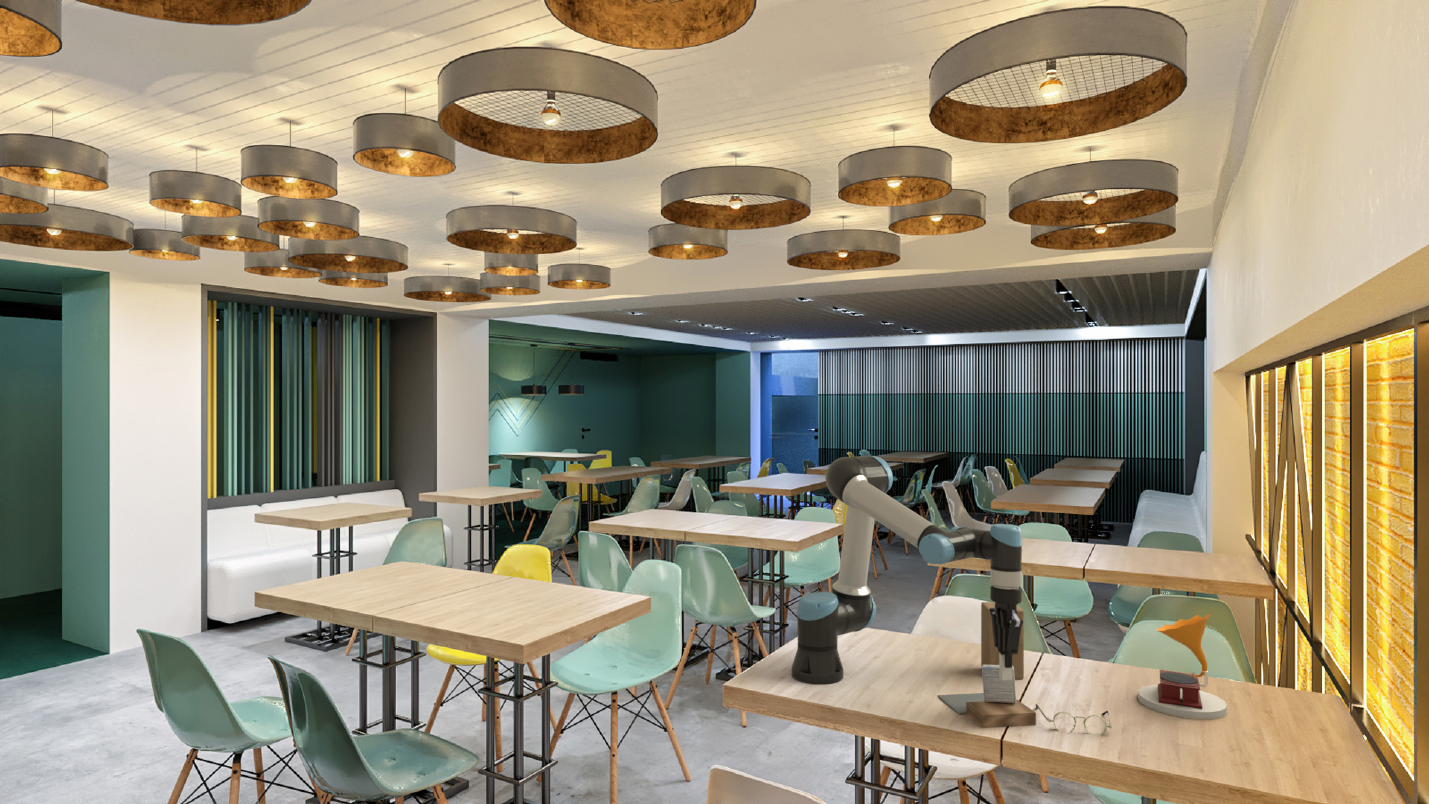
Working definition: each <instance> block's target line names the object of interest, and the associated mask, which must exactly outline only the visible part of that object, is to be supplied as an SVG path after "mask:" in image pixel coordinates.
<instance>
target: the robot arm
mask: <svg viewBox="0 0 1429 804" xmlns="http://www.w3.org/2000/svg"><path fill="white" fill-rule="evenodd" d="M892 471H893V470H892V469H891V467H890V466H889V465H888V462H886V460H885V459H883V458H882V457H880V456H877V455H876V456H875V455H860V456H859V455H857V456H844V457H842V456H841V457H839V458H837V459H835V460H833V462H831V463H830V465H828V468H827V469H826V472H825V484H826V487H827V489H828V490H829V492H830V493H831V494H832V496H834V497H835V498H836V499H837V500H839V501H840V502H842V503H843V504H845V505H846V513H845V521H844V522H845V523H844V530H843V531H844V532H843V536H842V537H843V540H842V546H841V547H842V548H841V553H840V554H841V556H840V562H839V563H840V564H839V572H838V578H837V580H836V581H835V582H833V583H832V587H831V592H829V591H818V592H813V591H812V592H809V593H806V594H803V596H801V597H800V598H799V599H798V602H797V611H796V615H797V617H796V618H797V620H796V621H797V647H796V648H797V649H796V652H795V656H794V658H793V660H792V661H793V662H792V665H791V676H792V677H793V678H794V680H797V681H801V682H804V683H808V684H816V685H817V684H818V685H819V684H821V685H822V684H823V685H825V684H826V685H827V684H834V683H837V682H839V681H842V680H843V679H844V667H843V662H842V661H841V657H840V653H839V650H838V638H839V637H838V636H842V635H846V634H847V635H848V634H849V633H856V632H860V631H862V630H863V629H867V628H868V627H870V626H871V624H872V623H873V622H874V621H875V617H876V614H877V605H876V602H875V601H874V597H873V595H871V593H872V591H871V589H870V587H868V585H867V583H868V575H869V567H870V560H871V553H872V551H871V550H872V544H873V536H874V528H875V521H876V522H878V523H879V524H880V525H882V526H884V527H885V528H887V529H889V530H890V531H891V532H893V533H894V534H896V535H897V536H899V537H900V538H902V539H904V541H906V542H908V543H909V544H911V545H912V546H913V547H914V548H917V549H918V551H919V555H920V556H921V558H922V560H923V561H924V562H926V563H928V564H930V565H944V564H947V563H952V562H956V561H961V560H967V559H980V560H985V561H990V562H989V563H990V564H989V565H990V568H989V569H990V571H989V576H990V577H989V583H990V584H991V585H990V595H989V596H990V601H992V602H995V607H994V608H990V614H991V618H992V627H993V636H994V645H995V647H997V648H998V651H999V652H1000V653H999V678H1000V679H1001V680H1012V655H1013V654H1018V647H1019V640H1020V632H1021V627H1022V624H1023V620H1022V619H1019V618H1018V616H1017V613H1018V612H1017V607H1016V605H1017V606H1018V604H1021V603H1022V601H1023V600H1022V599H1023V597H1022V594H1023V593H1022V588H1021V587H1022V582H1023V580H1022V577H1023V572H1022V570H1023V569H1022V562H1023V561H1022V558H1023V557H1022V555H1023V554H1022V552H1023V551H1022V550H1023V539H1022V529H1021V528H1020V526H1018V525H1016V524H1007V523H1006V524H1005V523H996V524H992V525H991V526H990V529H989V530H985V529H977V528H970V527H967V526H954V527H952V528H951V529H950V530H949V531H945V530H943V529H942V528H940V527H938V526H937V525H936V524H934V523H932V522H931V521H929V520H927V519H926V518H925V517H923V516H921V515H919V514H918V513H917V512H915V511H913V510H912V509H910V508H909V507H907V506H906V505H904V504H903V503H901V502H899V501H898V500H896V499H895V498H893V497H891V495H888V494H887V492H888V491H889V490H890V489H891V488H892V485H893V481H894V479H893V477H894V476H893V475H894V474H893V472H892Z"/></svg>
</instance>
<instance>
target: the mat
mask: <svg viewBox="0 0 1429 804" xmlns="http://www.w3.org/2000/svg"><path fill="white" fill-rule="evenodd" d="M937 697H938V698H939V699H940V700H941V699H942V700H941V701H942V702H943V703H944V704H946V705H947V706H948V707H949V708H950V709H952V710H953V711H954V712H955V713H956V714H957V715H967V714H966V702H982V701H984V692H977V693H976V692H974V693H972V692H971V693H955V694H952V693H951V694H937Z"/></svg>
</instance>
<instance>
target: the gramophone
mask: <svg viewBox="0 0 1429 804" xmlns="http://www.w3.org/2000/svg"><path fill="white" fill-rule="evenodd" d="M1211 615H1212V613H1211V614H1210V613H1207V615H1206V616H1205V617H1203V616H1200V615H1198V614H1196V615H1195V616H1193V617H1191V618H1190V619H1181V618H1180V619H1178V621H1175V623H1173V624H1164V625H1163V626H1162V627H1159V628H1155V630H1157V633H1160V634H1164V635H1165V636H1167V637H1168V638H1170V639H1172V640H1174V641H1175V642H1177V643H1180V644H1182V645H1183V646H1185V647H1187V649H1189V650H1190V651H1191V652H1192V653H1193V655H1194V656H1195V657H1196V659H1197V660H1198V662H1199V663H1200V665H1201V669H1200V673H1199V674H1195V672H1192V673H1186V672H1180V671H1173V670H1166V669H1159V681H1160V682H1159V683H1157V684H1152V685H1151V684H1150V685H1145V686H1142V687H1140V688H1139V689H1138V690H1137V699H1138V700H1139V703H1140V704H1142V705H1143V706H1144V707H1146V708H1149V709H1151V710H1153V711H1156V712H1159V713H1161V714H1165V715H1168V716H1169V715H1170V716H1173V717H1178V718H1185V719H1193V720H1216V719H1221V718H1223V717H1225V716H1226V715H1227V712H1228V704H1227V702H1225V700H1224V699H1222V698H1220V697H1219V696H1217V695H1214V694H1212V693H1209V692H1206V691H1203V690H1201V688H1206V687H1207V686H1208V684H1209V671H1208V663H1207V662H1208V661H1207V659H1206V655H1205V653H1204V650H1203V647H1202V639H1203V636H1204V633H1205V629H1206V625H1207V621H1208V619H1210V617H1211ZM1201 677H1203V681H1204V683H1201V682H1199V678H1201Z"/></svg>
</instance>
